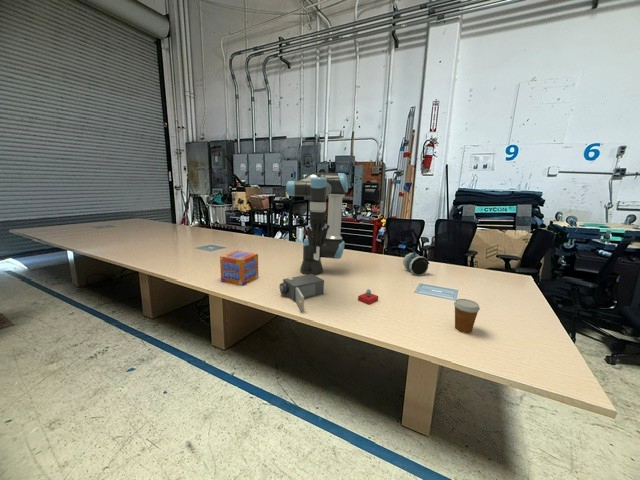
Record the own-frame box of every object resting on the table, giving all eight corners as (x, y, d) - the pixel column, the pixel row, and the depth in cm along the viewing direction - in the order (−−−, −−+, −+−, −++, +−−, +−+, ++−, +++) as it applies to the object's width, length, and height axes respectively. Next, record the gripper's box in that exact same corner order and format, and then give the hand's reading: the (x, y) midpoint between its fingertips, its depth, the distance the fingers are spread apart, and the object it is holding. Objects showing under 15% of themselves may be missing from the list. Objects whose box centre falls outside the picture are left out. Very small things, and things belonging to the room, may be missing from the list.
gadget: (429, 276, 186) (431, 254, 183) (411, 276, 183) (413, 254, 180) (418, 269, 200) (420, 248, 197) (401, 270, 197) (403, 249, 194)
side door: (304, 311, 129) (304, 296, 127) (299, 311, 128) (300, 297, 126) (297, 300, 140) (297, 286, 139) (293, 300, 140) (294, 287, 138)
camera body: (311, 287, 159) (312, 272, 158) (323, 294, 150) (324, 278, 148) (278, 294, 148) (278, 278, 146) (288, 302, 138) (288, 285, 136)
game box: (237, 274, 177) (237, 250, 174) (258, 278, 172) (258, 253, 169) (220, 281, 163) (219, 256, 160) (242, 286, 158) (242, 259, 154)
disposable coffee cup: (446, 324, 122) (449, 298, 119) (467, 323, 123) (471, 298, 120) (458, 335, 113) (462, 308, 110) (481, 335, 114) (485, 307, 111)
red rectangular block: (368, 305, 139) (369, 293, 138) (357, 301, 144) (358, 289, 142) (378, 301, 144) (378, 289, 143) (367, 297, 149) (368, 285, 148)
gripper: (324, 209, 138) (323, 256, 143) (301, 210, 131) (300, 259, 135) (333, 211, 132) (331, 259, 137) (310, 212, 124) (309, 263, 129)
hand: (316, 259), depth 136 cm, fingers closed
